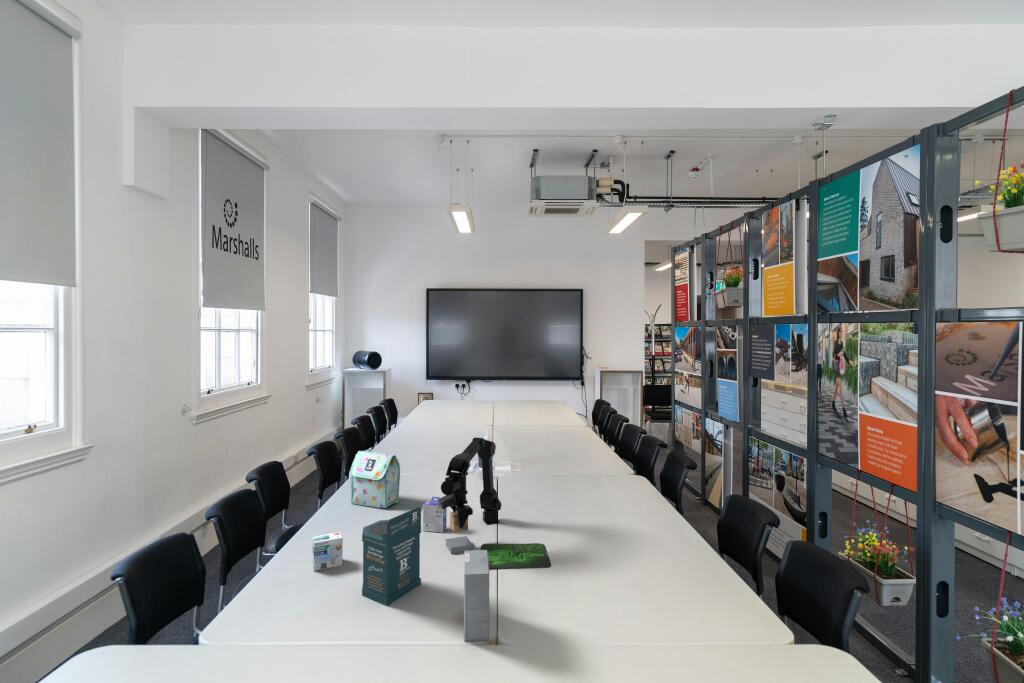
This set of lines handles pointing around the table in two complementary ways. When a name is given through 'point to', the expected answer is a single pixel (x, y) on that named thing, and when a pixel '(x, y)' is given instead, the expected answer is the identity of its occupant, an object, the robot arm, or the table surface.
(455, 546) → the base slab
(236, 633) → the table surface
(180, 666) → the table surface
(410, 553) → the donation box
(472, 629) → the hard drive box
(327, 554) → the light bulb box
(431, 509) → the ink cartridge box
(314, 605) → the table surface
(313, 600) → the table surface
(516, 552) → the mouse mat
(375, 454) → the lunch bag
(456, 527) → the walnut block
